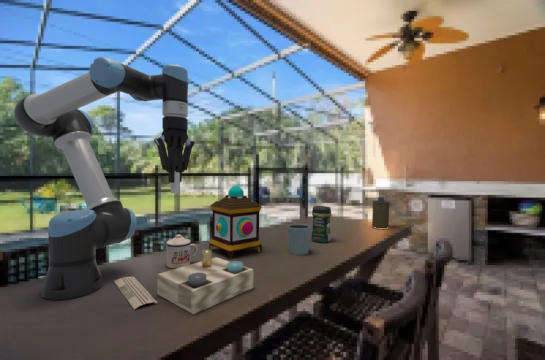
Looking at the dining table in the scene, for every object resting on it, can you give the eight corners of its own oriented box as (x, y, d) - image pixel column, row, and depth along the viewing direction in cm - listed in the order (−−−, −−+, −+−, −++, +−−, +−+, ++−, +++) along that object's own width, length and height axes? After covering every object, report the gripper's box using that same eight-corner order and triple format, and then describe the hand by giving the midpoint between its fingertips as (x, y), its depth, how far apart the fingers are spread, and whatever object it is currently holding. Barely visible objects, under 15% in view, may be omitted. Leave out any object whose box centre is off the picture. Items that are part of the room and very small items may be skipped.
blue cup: (313, 254, 128) (314, 227, 127) (293, 256, 124) (293, 228, 124) (303, 248, 137) (303, 223, 137) (283, 250, 134) (283, 224, 133)
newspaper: (158, 306, 79) (158, 300, 79) (130, 314, 75) (130, 307, 75) (134, 280, 98) (134, 275, 97) (110, 285, 93) (110, 280, 93)
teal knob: (234, 288, 87) (234, 267, 87) (224, 284, 90) (224, 263, 90) (245, 283, 91) (246, 263, 90) (235, 279, 94) (235, 260, 93)
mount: (193, 314, 74) (193, 291, 74) (157, 294, 86) (157, 274, 85) (253, 288, 91) (253, 269, 91) (216, 274, 102) (216, 257, 102)
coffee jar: (309, 241, 152) (309, 205, 151) (316, 238, 158) (317, 204, 157) (325, 244, 146) (326, 207, 145) (332, 241, 152) (333, 206, 151)
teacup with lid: (170, 270, 105) (170, 238, 105) (162, 263, 112) (162, 234, 112) (201, 264, 112) (201, 234, 112) (192, 258, 120) (192, 230, 119)
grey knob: (195, 304, 76) (195, 280, 76) (184, 299, 79) (184, 276, 79) (209, 298, 80) (210, 275, 80) (199, 293, 83) (199, 271, 83)
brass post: (205, 268, 91) (205, 252, 91) (199, 266, 93) (200, 250, 92) (213, 266, 93) (213, 250, 93) (207, 263, 95) (207, 248, 95)
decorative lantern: (204, 250, 132) (205, 184, 131) (240, 243, 145) (241, 183, 144) (229, 261, 117) (229, 187, 116) (266, 252, 130) (267, 185, 129)
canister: (371, 229, 185) (372, 197, 185) (371, 226, 195) (372, 196, 194) (390, 230, 182) (391, 198, 181) (389, 227, 192) (389, 197, 191)
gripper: (162, 112, 83) (161, 195, 84) (200, 119, 93) (199, 192, 94) (149, 115, 88) (149, 193, 88) (186, 121, 98) (186, 191, 98)
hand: (175, 193), depth 91 cm, fingers closed
